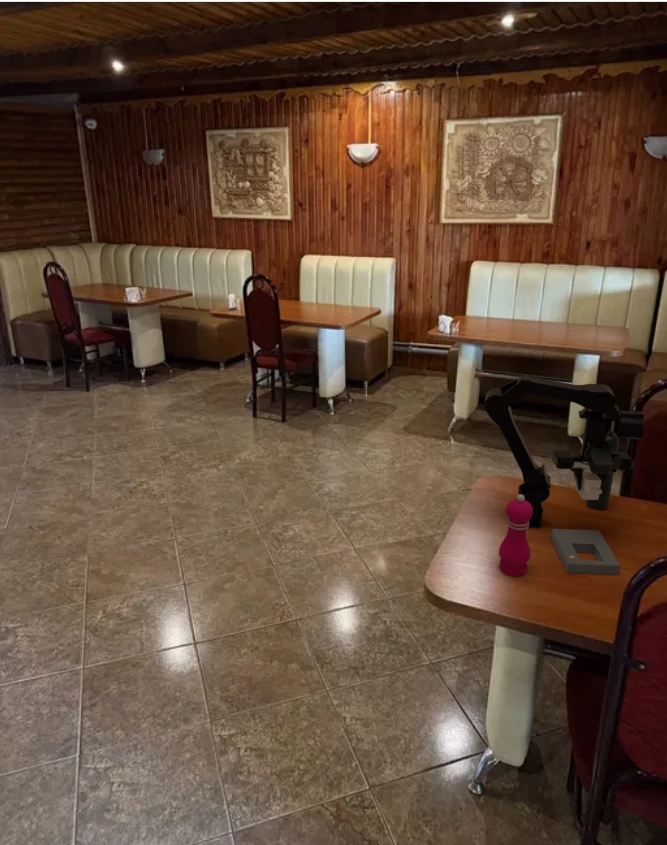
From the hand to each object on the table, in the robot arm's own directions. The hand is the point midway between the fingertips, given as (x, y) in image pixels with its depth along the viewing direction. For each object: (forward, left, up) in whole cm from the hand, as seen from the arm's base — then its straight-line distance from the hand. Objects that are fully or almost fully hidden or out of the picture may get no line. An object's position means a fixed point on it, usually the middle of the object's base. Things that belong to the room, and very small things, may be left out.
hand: (587, 489), depth 164 cm
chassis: (-3, -13, -12) cm, 18 cm away
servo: (0, 0, -1) cm, 1 cm away
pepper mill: (-22, -20, -12) cm, 32 cm away
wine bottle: (+8, +13, -12) cm, 19 cm away
